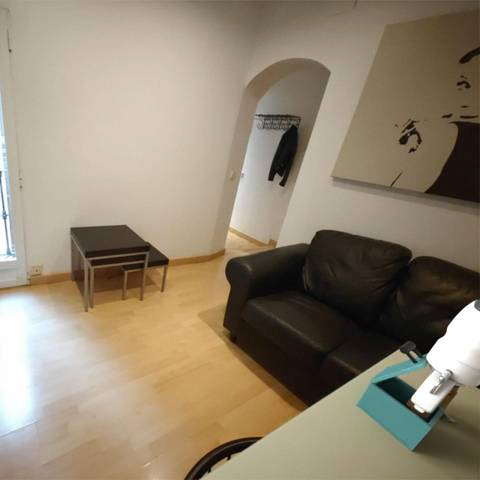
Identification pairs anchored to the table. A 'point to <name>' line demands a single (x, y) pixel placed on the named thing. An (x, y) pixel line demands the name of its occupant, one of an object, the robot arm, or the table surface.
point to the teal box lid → (403, 364)
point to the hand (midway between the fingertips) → (422, 404)
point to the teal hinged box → (397, 411)
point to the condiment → (446, 401)
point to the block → (417, 410)
